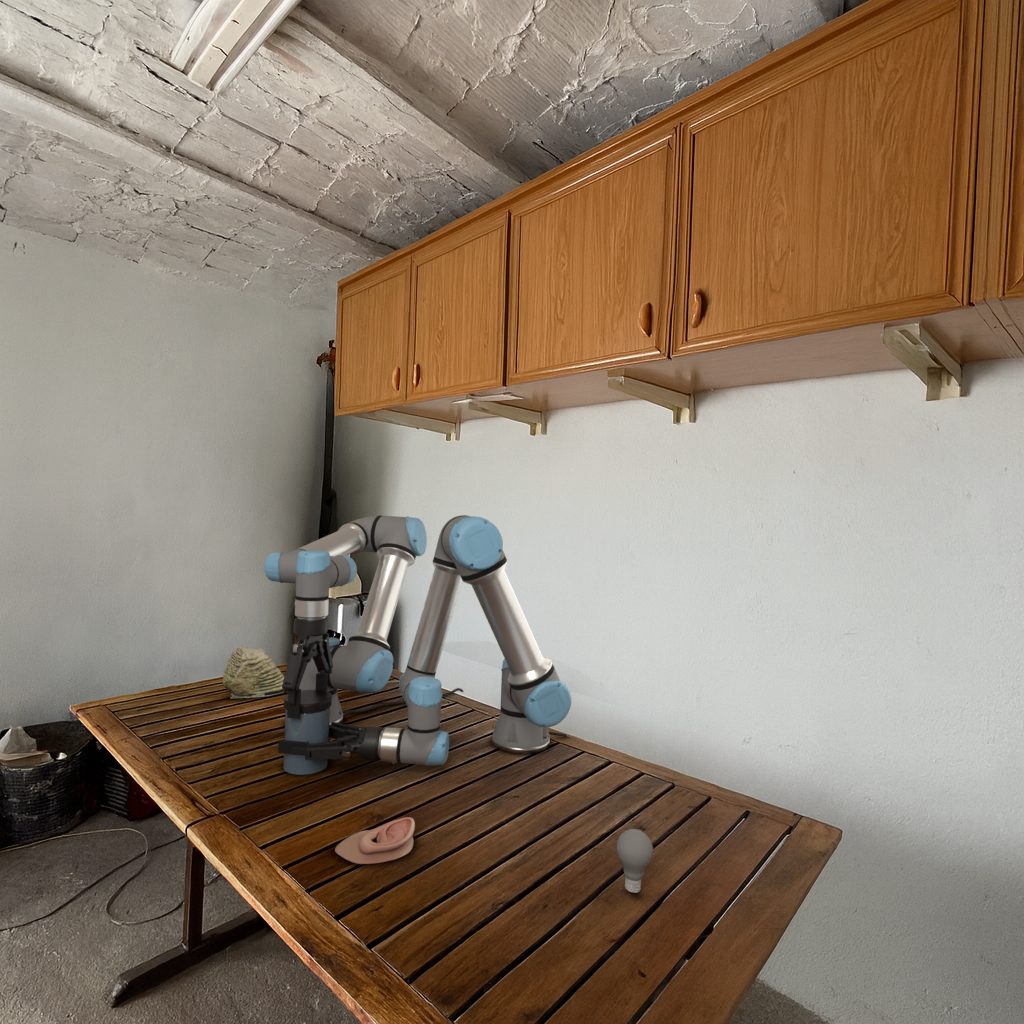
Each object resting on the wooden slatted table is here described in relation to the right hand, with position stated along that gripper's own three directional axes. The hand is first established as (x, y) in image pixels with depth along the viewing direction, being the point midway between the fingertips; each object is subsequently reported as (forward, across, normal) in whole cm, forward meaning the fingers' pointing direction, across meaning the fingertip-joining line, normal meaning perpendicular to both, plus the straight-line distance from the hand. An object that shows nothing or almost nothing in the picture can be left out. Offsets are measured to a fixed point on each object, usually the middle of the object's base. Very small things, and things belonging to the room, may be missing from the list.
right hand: (289, 737), depth 149 cm
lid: (-4, 0, +10) cm, 11 cm away
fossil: (+31, +47, -6) cm, 57 cm away
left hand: (-4, 0, +7) cm, 8 cm away
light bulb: (-76, -38, -6) cm, 85 cm away
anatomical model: (-30, -32, -6) cm, 44 cm away
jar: (-4, 0, -6) cm, 8 cm away
